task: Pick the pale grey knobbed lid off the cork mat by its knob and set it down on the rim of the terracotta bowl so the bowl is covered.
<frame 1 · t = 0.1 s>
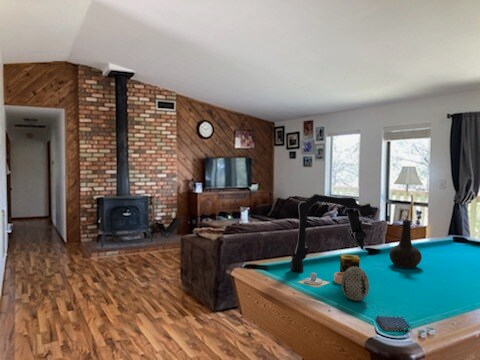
hand: (360, 247, 207), 15 cm above the table, tool pointing down, fingers open, 9 cm apart
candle: (349, 275, 208), on the table
woven mat: (392, 326, 142), on the table
bowl: (343, 283, 192), on the table
lid: (313, 282, 191), point 1 cm above the table, touching mat
decorative egg: (354, 300, 168), on the table
mat: (313, 283, 191), on the table
dark brown vase: (404, 266, 227), on the table
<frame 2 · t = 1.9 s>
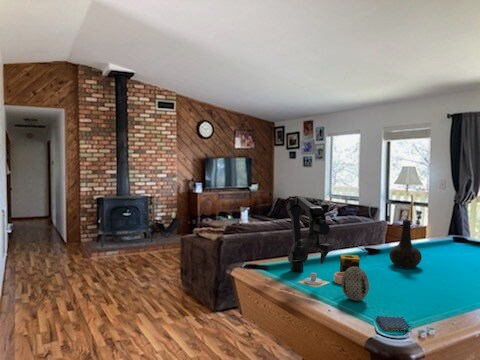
hand: (313, 262, 190), 11 cm above the table, tool pointing down, fingers open, 9 cm apart
nothing on the table moved.
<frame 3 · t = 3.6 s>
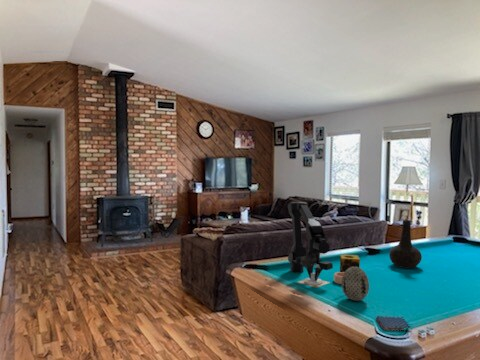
hand: (313, 279, 190), 2 cm above the table, tool pointing down, fingers closed on lid, 3 cm apart
lid: (313, 282, 191), point 1 cm above the table, touching gripper, mat
everything else where it was.
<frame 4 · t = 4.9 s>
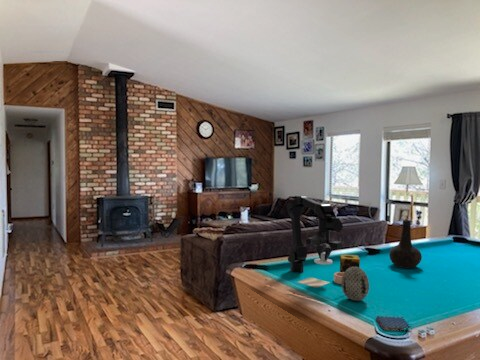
hand: (323, 259, 190), 12 cm above the table, tool pointing down, fingers closed on lid, 3 cm apart
lid: (323, 262, 190), point 11 cm above the table, touching gripper
everything else where it was.
when the fingers open (7 cm above the table, at t = 6.5 s): lid drops 1 cm, resting on bowl.
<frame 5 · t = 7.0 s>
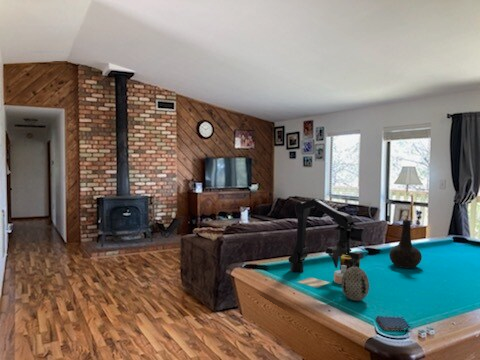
hand: (343, 269, 192), 7 cm above the table, tool pointing down, fingers open, 8 cm apart
lid: (343, 274, 192), point 4 cm above the table, touching bowl
everything else where it was.
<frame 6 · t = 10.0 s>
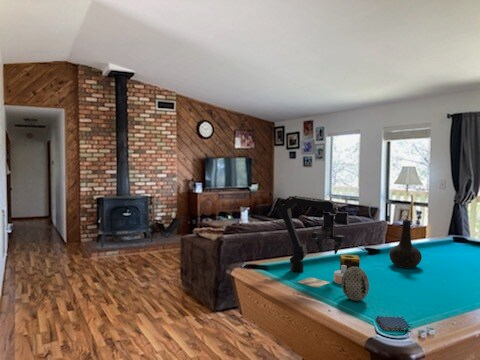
hand: (327, 252, 203), 13 cm above the table, tool pointing down, fingers open, 9 cm apart
nothing on the table moved.
at the end: lid 0.1 cm off-centre on the bowl, point 4.5 cm above the bowl's base; the gripper is holding nothing; lid tilted 0° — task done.
